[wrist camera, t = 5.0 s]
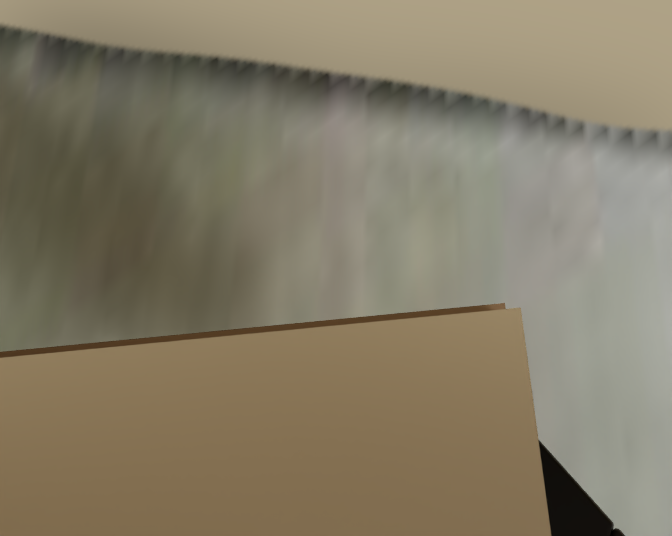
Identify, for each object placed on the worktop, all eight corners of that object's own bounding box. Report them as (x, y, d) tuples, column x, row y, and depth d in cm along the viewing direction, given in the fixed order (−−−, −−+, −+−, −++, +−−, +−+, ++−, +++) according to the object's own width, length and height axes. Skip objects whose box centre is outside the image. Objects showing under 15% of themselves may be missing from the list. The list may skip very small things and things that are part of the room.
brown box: (409, 480, 15) (652, 1198, 2) (263, 493, 15) (-223, 1240, 3) (393, 333, 15) (530, 296, 3) (252, 346, 15) (-204, 368, 3)
